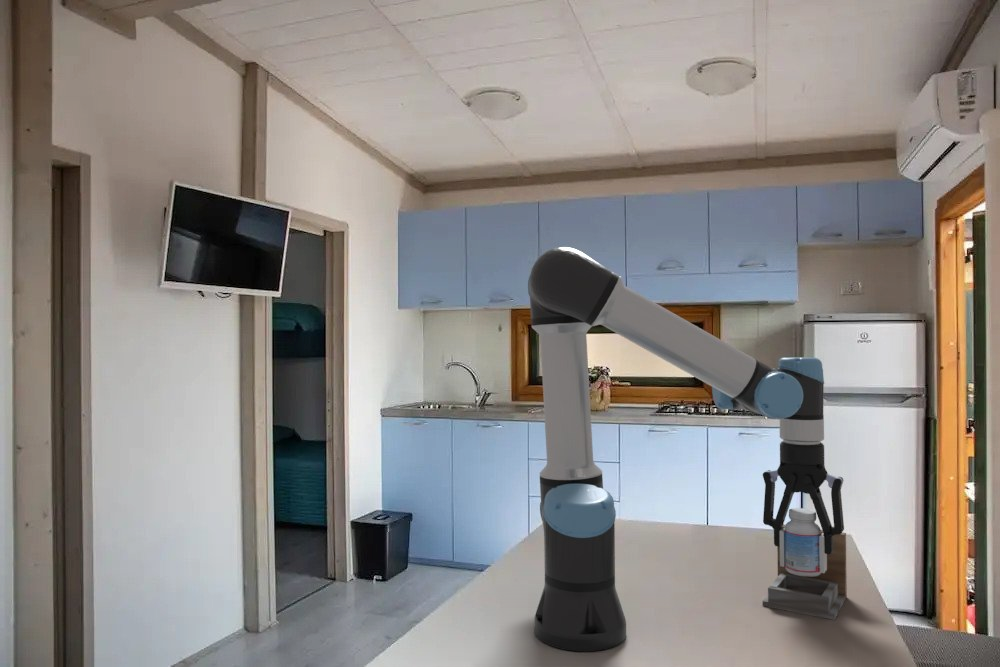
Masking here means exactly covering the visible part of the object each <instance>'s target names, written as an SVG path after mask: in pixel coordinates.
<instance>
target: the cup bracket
mask: <svg viewBox="0 0 1000 667" xmlns="http://www.w3.org/2000/svg"><path fill="white" fill-rule="evenodd" d="M785 525H786V524H784V525H783V526H782V528H785ZM822 533H823V530H822V529H821V534H822ZM776 547H777V546H776ZM847 588H848V587H847V532H842V533H841V534H839V535H838V534H837V535H833V551H832V553H831V554H827V570H826V572H825V573H821V574H820V575H818V576H814V577H809V576H797V575H794V574H791V573H789V572H788V571H787V570H786V567H785V566H784V567H782V566H780V547H777V577H776V578H775V579H774V580H773V581H772V582H771V584H770V585H769V586H768V587H767V595H766V597H764V599H763V600H762V606H764V607H768V608H773V609H778V610H784V611H788V612H794V613H797V614H798V613H799V614H803V615H809V616H814V617H818V618H824V619H829V620H833V621H835V620H836V618H837V616H838V614H839V612H840V610H841V608H842V607H843V604H844V603H845V601H846V599H847V596H848V595H847V590H848V589H847Z"/></svg>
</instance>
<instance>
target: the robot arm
mask: <svg viewBox="0 0 1000 667" xmlns="http://www.w3.org/2000/svg"><path fill="white" fill-rule="evenodd" d="M527 292H528V296H529V302H530V303H529V305H530V323H531V324H530V325H531V328H532V329H533V330H534V331H535V332H536V333H537V334H538V335H539V338H540V340H539V341H540V357H541V360H540V361H541V376H542V377H541V378H542V379H541V380H542V393H543V397H542V398H543V411H544V412H543V414H544V430H545V432H544V433H545V446H546V447H545V450H546V464H545V466H544V468H542V469H541V470H540V472H539V488H540V489H539V490H540V491H539V492H540V504H539V513H540V518H541V522H542V527H543V538H544V540H543V541H544V547H543V548H544V550H543V551H544V585H543V589H542V592H541V595H540V599H539V602H538V606H537V608H536V612H535V615H534V621H533V622H534V625H533V626H534V636H536V637H537V639H538V640H540V641H541V642H542V643H544V644H546V645H549V646H551V647H554V648H558V649H560V650H562V649H563V650H567V651H573V652H595V651H602V650H603V651H604V650H607V649H611V648H614V647H617V646H618V645H620V644H622V643H623V642H624V641H625V639H626V636H627V620H626V616H625V613H624V610H623V607H622V604H621V601H620V599H619V595H618V592H617V589H616V551H615V550H616V546H615V545H616V544H615V543H616V542H615V540H616V539H615V537H616V536H615V535H616V534H615V532H616V529H615V526H616V525H615V524H616V523H615V522H616V516H617V515H616V514H617V511H616V507H615V500H614V498H613V496H612V494H611V493H610V492H609V491H608V490H607V489H604V482H603V470H602V469H601V468H600V467H599V466H597V465H596V463H595V462H594V453H593V452H594V451H593V449H594V448H593V432H592V431H593V430H592V416H591V415H592V414H591V413H592V412H591V399H590V398H591V396H590V394H591V392H590V380H589V379H590V378H589V374H590V373H589V361H588V360H589V359H588V340H587V334H588V331H589V330H590V329H591V328H592V327H595V326H599V325H600V326H603V327H605V328H606V329H608V330H610V331H612V332H613V333H615V334H617V335H619V336H621V337H623V338H624V339H626V340H628V341H630V342H631V343H633V344H635V345H637V346H639V347H640V348H642V349H643V350H646V351H647V352H648V353H649V352H650V353H651V354H653V355H654V356H656V357H658V358H660V359H662V360H664V361H665V362H667V363H669V364H671V365H673V366H675V367H676V368H678V369H680V370H682V371H684V372H685V373H687V374H689V375H690V376H692V377H694V378H696V379H697V380H700V381H702V382H703V383H705V384H706V385H709V386H710V387H711V392H712V399H713V402H714V404H715V407H716V408H718V409H720V410H731V411H735V410H743V411H748V412H751V413H755V414H757V415H758V414H759V415H762V416H764V417H766V418H768V419H772V420H777V419H778V420H779V438H780V439H781V440H782V441H780V443H779V466H778V467H777V469H775V470H770V469H769V470H766V471H764V472H763V473H762V478H763V481H764V484H765V486H764V501H763V503H764V504H763V517H762V518H763V519H762V521H763V525H765V526H769V527H772V530H773V544H774V547H780V566H782V567H784V566H785V528H782V526H783V525H785V524H784V523H785V521H786V517H787V514H788V513H789V510H790V505H791V502H792V501H793V500H792V499H793V497H794V494H795V493H803V494H807V495H809V497H810V500H812V503H813V506H814V509H815V510H814V511H815V512H816V517H817V518H818V521H819V524H820V528H821V530H823V533H822V534H821V535H820V536H819V559H820V573H825V572H826V570H827V554H831V553H832V551H833V535H837V534H838V535H839V534H841V533H844V531H845V525H844V524H845V523H844V522H845V521H844V513H843V512H844V510H843V501H842V491H841V490H842V487H843V484H844V478H843V476H835V475H832V474H829V473H828V471H827V469H826V466H825V444H824V443H823V442H822V441H824V440H825V421H824V420H825V419H824V416H825V415H824V394H825V393H824V390H825V388H824V385H825V379H824V369H823V363H822V361H821V359H819V358H817V357H806V356H805V357H804V356H802V357H801V356H800V357H796V356H795V357H790V356H789V357H781V358H780V359H779V360H778V365H777V367H774V368H773V367H770V366H768V365H766V364H765V363H763V362H761V361H759V360H757V359H755V358H754V357H753V356H750V355H749V354H747V353H745V352H743V351H741V349H738V348H737V347H735V346H733V345H732V344H731V345H730V344H729V343H727V342H725V341H724V340H722V339H720V338H718V336H717V337H716V336H715V335H713V334H712V333H709V332H708V331H706V330H705V329H702V328H700V327H699V326H697V325H695V324H693V323H691V322H690V321H688V320H687V319H685V318H682V317H681V316H679V315H677V314H675V313H674V312H672V311H670V310H668V309H667V308H665V307H663V306H661V305H659V304H658V303H656V302H654V301H653V300H651V299H649V298H647V297H645V296H644V295H642V294H640V293H638V292H636V291H634V290H633V289H632V288H630V287H627V286H626V285H625V284H624V281H623V279H622V276H621V275H619V274H617V273H616V272H613V271H612V270H610V269H608V268H607V267H606V266H604V265H602V264H600V263H599V262H598V261H596V260H595V259H593V258H592V257H590V256H589V255H587V254H586V253H584V252H583V251H580V250H578V249H576V248H573V247H568V246H561V247H554V248H551V249H548V250H547V251H545V252H544V253H542V254H541V255H540V256H539V257H538V258H537V259H536V260H535V262H534V264H533V266H532V267H531V270H530V274H529V277H528V281H527ZM778 477H779V478H780V479H781V481H782V482H783V484H784V485H785V488H784V492H783V496H782V498H781V501H780V504H779V508H778V510H777V514H776V516H775V518H774V508H775V495H776V494H775V493H776V490H775V489H776V482H777V481H778ZM825 481H826V482H828V488H830V489H831V492H830V494H831V495H830V497H831V505H832V508H831V509H832V516H833V517H832V520H833V525H832V523H831V520H830V517H829V514H828V512H827V509H826V506H825V502H824V499H823V496H822V491H821V489H820V487H821V486H822V484H823V483H824V482H825Z"/></svg>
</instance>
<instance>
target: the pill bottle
mask: <svg viewBox="0 0 1000 667" xmlns="http://www.w3.org/2000/svg"><path fill="white" fill-rule="evenodd" d="M788 519H790V520H788V522H786V524H784V525H785V567H786V570H787V571H788V572H789V573H791V574H794V575H797V576H809V577H814V576H818V575H820V574H821V573H820V559H819V536H820V535H821V530H822V528H821V526H819V524H818V523H816V522H815V521H816V520H817V513H816V510H813V509H809V508H802V507H801V508H800V507H796V508H795V507H794V508H789V509H788Z"/></svg>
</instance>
